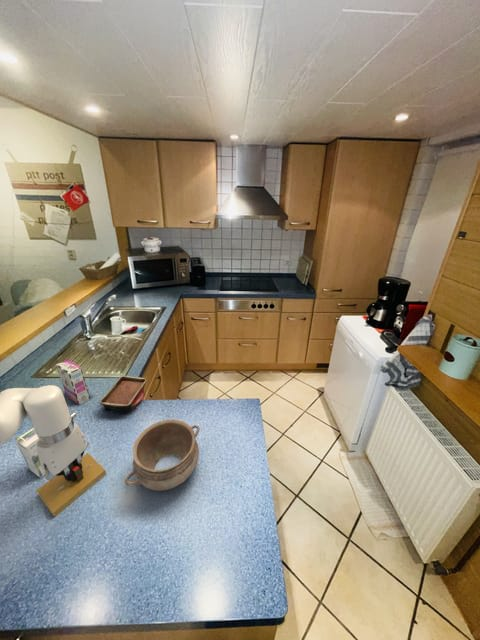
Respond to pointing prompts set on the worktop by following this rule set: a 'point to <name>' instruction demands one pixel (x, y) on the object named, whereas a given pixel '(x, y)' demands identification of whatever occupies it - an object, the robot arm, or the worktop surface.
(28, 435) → the syrup box
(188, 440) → the cooking pot
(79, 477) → the lock knob
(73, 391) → the candy bar box
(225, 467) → the worktop surface
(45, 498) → the plate
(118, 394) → the baking dish
